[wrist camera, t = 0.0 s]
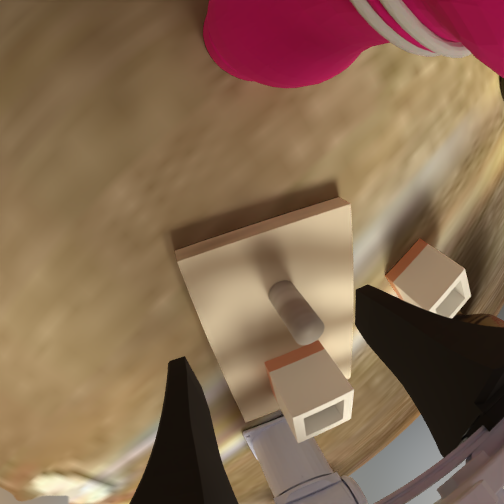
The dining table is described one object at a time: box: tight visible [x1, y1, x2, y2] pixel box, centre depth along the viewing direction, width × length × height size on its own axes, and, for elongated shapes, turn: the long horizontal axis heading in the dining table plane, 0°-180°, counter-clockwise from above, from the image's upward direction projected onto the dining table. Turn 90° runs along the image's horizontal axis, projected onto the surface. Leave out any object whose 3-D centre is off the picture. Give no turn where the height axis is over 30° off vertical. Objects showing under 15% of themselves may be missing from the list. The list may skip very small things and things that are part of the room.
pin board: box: [175, 197, 353, 422], centre depth 24 cm, size 20×12×6 cm, turn 12°
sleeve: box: [385, 239, 471, 318], centre depth 26 cm, size 5×5×6 cm
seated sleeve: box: [264, 340, 354, 443], centre depth 24 cm, size 5×5×6 cm
